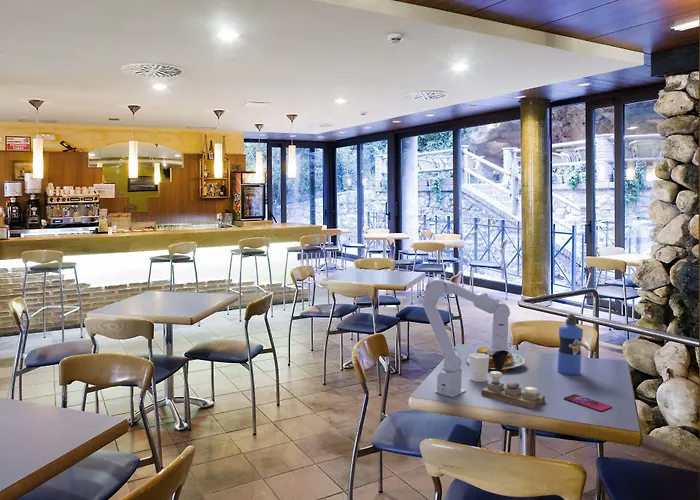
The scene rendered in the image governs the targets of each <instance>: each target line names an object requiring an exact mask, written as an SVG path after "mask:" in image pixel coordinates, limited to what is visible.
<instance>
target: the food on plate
mask: <svg viewBox="0 0 700 500" xmlns="http://www.w3.org/2000/svg"><path fill="white" fill-rule="evenodd" d="M489 348H490V346H485V347H479V348H478V349H477V350H476V353H484V354H487V349H489ZM487 355H489V354H487ZM466 361H467V363H468V364H469V357H467V358H466ZM525 363H526V359H525V358H524V357H523V356H522V355H518V354H515V353H511V352H509V354H508V355H507V357H506V359H505V361H504V365H503V368H502V370H501V371H503V373H506V370H509V369H515V368H517V367H520V366H521V367H522V368H523V367H524V366H523V365H524V364H525ZM488 370H495V366H494V362H493V358H492V356H491V355H489V366H488Z"/></svg>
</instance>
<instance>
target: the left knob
mask: <svg viewBox="0 0 700 500" xmlns="http://www.w3.org/2000/svg"><path fill="white" fill-rule="evenodd" d="M489 373H490V374H489V376H490V377H491V378H492V381H493V382H500V378H502V377H503V372H501V371H498V370H494V371H493V370H492V371H490V372H489Z"/></svg>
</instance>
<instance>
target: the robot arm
mask: <svg viewBox="0 0 700 500" xmlns="http://www.w3.org/2000/svg"><path fill="white" fill-rule="evenodd" d="M424 289H425V290H424V294H423V299H422V307H423V310H424V312H425V314H426V317H427V318H428V321H429V324H430V326H431V328H432V331H433V332H434V335H435V338H436V340H437V342H438V344H439V347H440V350H441V353H442V355H443V360H444V362H443V365H442V370H440V371H441V372H440V373H438V374H437V378H436V379H437V380H436V381H437V382H436V390H435V391H434V393H436V394H440V395H443V396H446V397H450V398H455V397H456V396H459V395H462V394H463V393H464V392H467V390H466V389H464V388H462V377H463V375H462V372H463V371H462V370H463V367H462V360H461V355H460V352H459V350H457V349H456V348H455V346H454V344H453V342H452V340H451V338H450V335H449V333H448V330H447V329H446V326H445V324H444V321H443V319H442V317H441V314H440V312H439V310H438V308H437V303H438V301H439V299H440V298H441V297H442V296H443V295H444V294H445V295H446V296H448V295H453V294H454V295H456V296H459V297H460V298H463V299H465V300H467V301H470V302H472V303H473V307H475V308H477V309H479V310H481V311H483V312H486V313H488V314H493V315H492V317H493V318H492V327H491V329H492V331H491V345H490V346H489V347H490V348H489V349H487V354H489V355H491V356H492V358H493V362H494V366H495V369H494V371H498V372H501V371H503V370H502V368H503V365H504V361H505V359H506V357H507V355H508V354H509V353H510V352H509V350H511V348H512V342H508V341H509V340H508V339H509V338H508V337H509V336H508V335H509V317H510V315H511V311H510V308H509V306H508V305H507V304H506V303H505V302H504V301H503V300H500V299H498V298H493V297H491V296H489V295H488V293H487V292H484V293H482V292H479V293H475V292H472V290H471V291H470V290H468V289H467V288H465V287H463V286H461V285H459V284H458V283H455V282H453V281H451V280H449V279H445V278H442V277H439V276H433V277H431V278H430V279H429V280H428V282H427V284H426V286H425V288H424Z"/></svg>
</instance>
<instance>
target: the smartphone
mask: <svg viewBox="0 0 700 500" xmlns="http://www.w3.org/2000/svg"><path fill="white" fill-rule="evenodd" d="M563 400H564V401H567V402H569V403H573V404H576V405H579V406H582V407H584V408H588V409H591V410H594V411H596V412H598V413H602V412H605V411H608V410H610V409H613V406H612V405H609V404H605V403H603V402H601V401H597V400H594V399H591V398H588V397H585V396H582V395H580V394H576V393H573V394H570V395H567V396H564V397H563Z"/></svg>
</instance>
